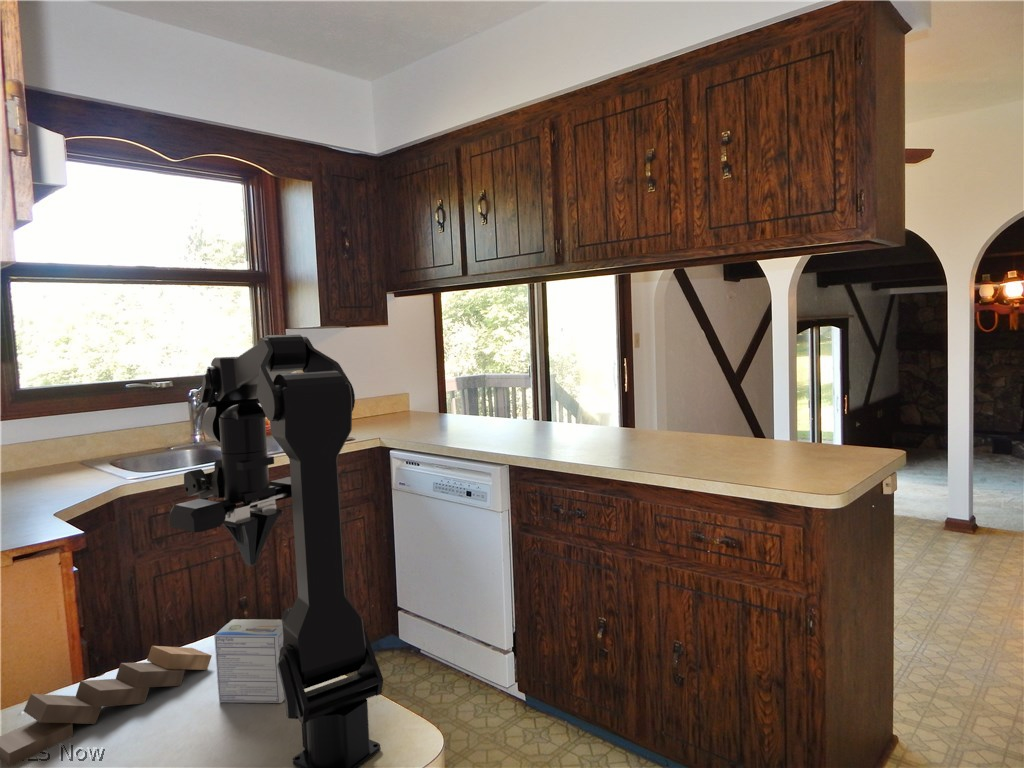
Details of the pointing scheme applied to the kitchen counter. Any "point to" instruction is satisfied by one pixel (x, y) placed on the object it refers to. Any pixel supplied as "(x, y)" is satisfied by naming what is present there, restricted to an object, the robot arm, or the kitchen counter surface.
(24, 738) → the domino
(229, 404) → the robot arm
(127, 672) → the domino
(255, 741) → the kitchen counter surface
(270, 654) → the medicine box
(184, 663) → the domino
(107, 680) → the domino
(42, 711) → the domino
